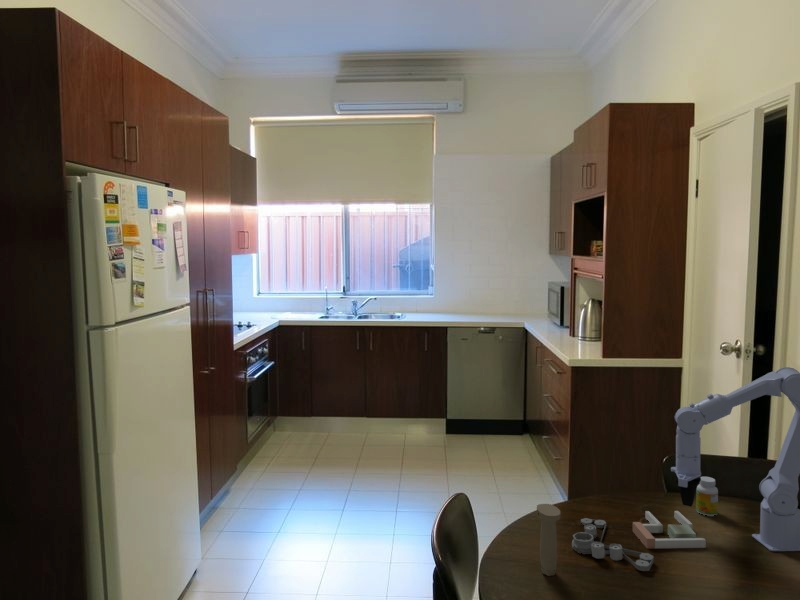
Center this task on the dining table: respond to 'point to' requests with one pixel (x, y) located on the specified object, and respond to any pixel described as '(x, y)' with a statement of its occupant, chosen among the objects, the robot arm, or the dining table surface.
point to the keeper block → (680, 531)
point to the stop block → (643, 535)
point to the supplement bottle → (707, 497)
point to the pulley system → (606, 546)
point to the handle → (548, 537)
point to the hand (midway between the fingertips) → (687, 504)
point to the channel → (673, 542)
